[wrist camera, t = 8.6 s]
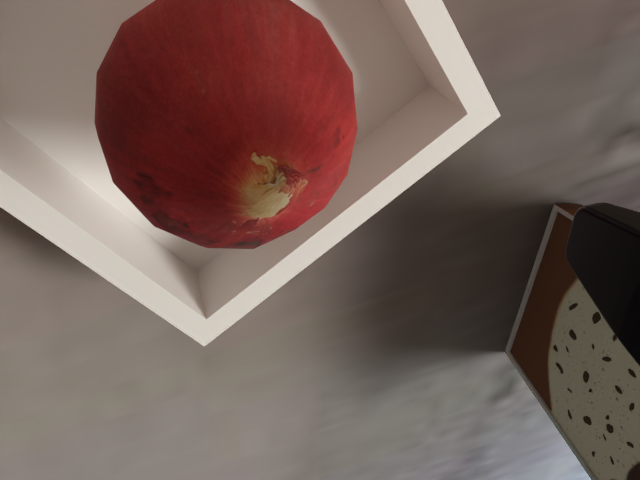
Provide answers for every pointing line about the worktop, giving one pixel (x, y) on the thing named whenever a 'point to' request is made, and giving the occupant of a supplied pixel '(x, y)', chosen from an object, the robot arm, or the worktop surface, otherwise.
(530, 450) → the worktop surface
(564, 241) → the food container
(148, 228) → the open white tray
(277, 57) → the onion
